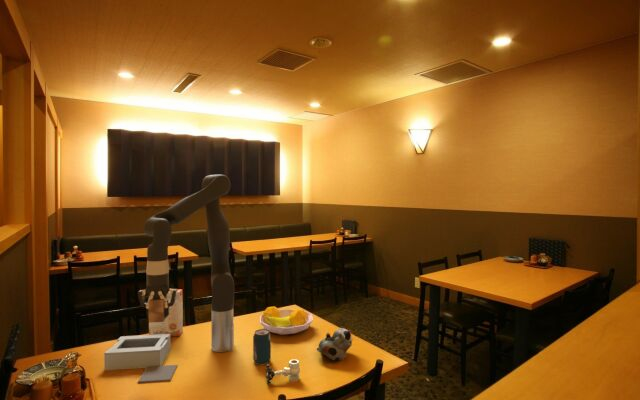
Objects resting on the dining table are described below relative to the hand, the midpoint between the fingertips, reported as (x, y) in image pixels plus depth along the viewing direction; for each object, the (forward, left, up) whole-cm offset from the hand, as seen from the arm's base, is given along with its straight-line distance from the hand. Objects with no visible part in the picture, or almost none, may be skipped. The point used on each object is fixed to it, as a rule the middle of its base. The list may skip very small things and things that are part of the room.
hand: (157, 317), depth 135 cm
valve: (-46, +11, -22) cm, 52 cm away
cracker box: (+7, -39, -22) cm, 45 cm away
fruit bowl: (-49, -37, -22) cm, 65 cm away
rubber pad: (0, 0, -21) cm, 21 cm away
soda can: (-38, -5, -22) cm, 44 cm away
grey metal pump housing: (-68, -6, -22) cm, 72 cm away
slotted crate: (+11, -14, -21) cm, 28 cm away
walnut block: (0, 0, -1) cm, 1 cm away
